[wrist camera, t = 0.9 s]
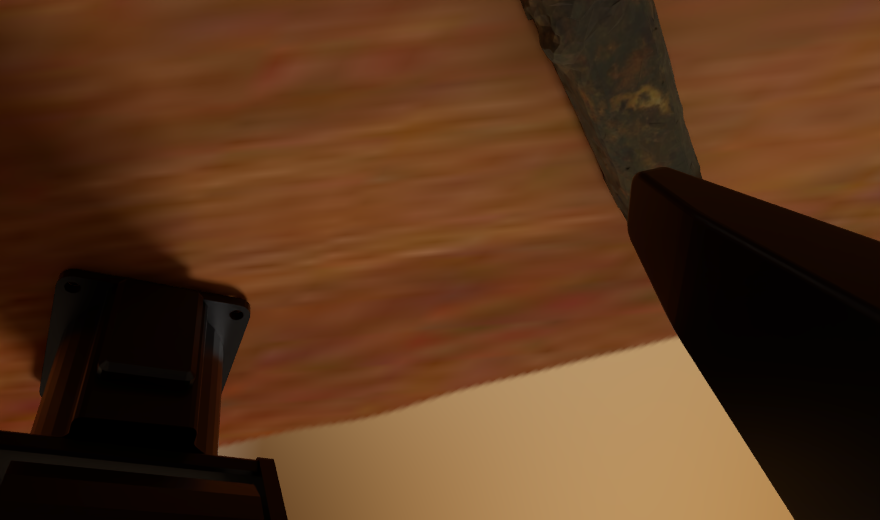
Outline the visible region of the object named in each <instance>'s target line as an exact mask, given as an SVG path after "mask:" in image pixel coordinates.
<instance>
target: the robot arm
mask: <svg viewBox="0 0 880 520" xmlns="http://www.w3.org/2000/svg"><path fill="white" fill-rule="evenodd" d="M627 226H628V233H629V237H630V240H631V242H632V244H633V246H634V248H635V250H636V252H637V254H638V257H639V259H640V261H641V263H642V265H643V267H644V269H645V271H646V273H647V275H648V277H649V280H650V282H651V284H652V286H653V288H654V290H655V292H656V294H657V296H658V298H659V300H660V302H661V305H662V307H663V309H664V311H665V313H666V315H667V317H668V319H669V321H670V323H671V325H672V327H673V328H674V330H675V332H676V333H677V335H678V337H679V338H680V340H681V342H682V343H683V345H684V347H685V348H686V350H687V351H688V353H689V354H690V356H691V357H692V359H693V361H694V362H695V364H696V365H697V367H698V369H699V370H700V372H701V373H702V375H703V376H704V378H705V380H706V381H707V383H708V384H709V386H710V387H711V389H712V391H713V392H714V394H715V395H716V397H717V398H718V400H719V402H720V403H721V405H722V406H723V408H724V409H725V411H726V412H727V414H728V416H729V417H730V419H731V421H732V422H733V424H734V425H735V427H736V428H737V430H738V432H739V433H740V435H741V436H742V438H743V439H744V441H745V442H746V444H747V446H748V447H749V449H750V450H751V452H752V453H753V455H754V457H755V458H756V460H757V461H758V463H759V465H760V466H761V468H762V469H763V471H764V472H765V474H766V476H767V477H768V479H769V480H770V482H771V483H772V485H773V487H774V488H775V490H776V491H777V493H778V494H779V496H780V498H781V499H782V501H783V502H784V504H785V505H786V507H787V509H788V510H789V512H790V513H791V515H792V516H793V518H794V520H880V241H877V240H875V239H872V238H869V237H866V236H863V235H860V234H857V233H855V232H852V231H849V230H846V229H843V228H840V227H837V226H834V225H832V224H829V223H826V222H823V221H820V220H817V219H814V218H812V217H809V216H806V215H803V214H800V213H797V212H794V211H792V210H789V209H786V208H783V207H780V206H777V205H774V204H772V203H769V202H766V201H763V200H760V199H757V198H754V197H752V196H749V195H746V194H743V193H740V192H737V191H734V190H732V189H729V188H726V187H723V186H720V185H717V184H714V183H712V182H709V181H706V180H703V179H700V178H697V177H694V176H692V175H689V174H686V173H683V172H680V171H677V170H674V169H672V168H669V167H658V168H654V169H649V170H645V171H640V172H638V173H637V174H635V176H634V177H633V179H632V183H631V191H630V201H629V211H628V221H627ZM68 282H75V283H78V284H79V286H74V285H71V284H69V283H68ZM234 310H239V311H242V312H239V313H234V312H232V311H234ZM249 318H250V305H249V303H248V302H247V301H246V300H243V299H240V298H235V297H230V296H224V295H218V294H213V293H207V292H202V291H196V290H191V289H185V288H179V287H174V286H168V285H163V284H157V283H151V282H146V281H140V280H135V279H129V278H124V277H118V276H112V275H107V274H101V273H96V272H90V271H85V270H79V269H68V270H65V271H63V272H62V273H61V274H60V276H59V278H58V281H57V283H56V288H55V294H54V301H53V307H52V314H51V320H50V327H49V333H48V339H47V346H46V352H45V359H44V365H43V372H42V378H41V384H40V391H39V392H40V395H41V397H42V399H41V402H40V405H39V408H38V411H37V414H36V417H35V421H34V424H33V427H32V430H31V433H30V434H28V433H20V432H11V431H2V430H0V520H288V519H287V515H286V510H285V506H284V502H283V497H282V493H281V488H280V484H279V480H278V476H277V471H276V467H275V463H274V459H268V458H260V457H257V459H256V460H252V459H244V458H235V457H227V456H218V442H219V424H220V406H221V394H222V391H223V388H224V385H225V383H226V380H227V377H228V375H229V372H230V369H231V367H232V364H233V361H234V359H235V356H236V353H237V351H238V348H239V345H240V343H241V340H242V337H243V334H244V332H245V329H246V326H247V324H248V321H249Z"/></svg>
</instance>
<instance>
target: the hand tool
mask: <svg viewBox="0 0 880 520" xmlns="http://www.w3.org/2000/svg"><path fill="white" fill-rule="evenodd" d="M521 3H522V6H523V9H524V11H525V14H526V16H527V18H528V20H531V19H533V20H534V22H535V24H536V26H537V28H538V31H539V39H540V45H541V47H542V49H543V51H544V52H545V54H546V55H547V57H548V58H549V59H550V60H551V61H552V62H553V64H554V66H555V68H556V71H557V73H558V75H559V77H560V79H561V82H562V84H563V86H564V88H565V90H566V93H567V95H568V97H569V99H570V101H571V103H572V105H573V107H574V110H575V112H576V114H577V116H578V118H579V120H580V122H581V125H582V127H583V130H584V133H585V135H586V137H587V139H588V141H589V143H590V146H591V148H592V150H593V152H594V154H595V156H596V158H597V161H598V163H599V165H600V167H601V169H602V171H603V173H604V175H605V176H604V180H605V182H606V184H607V186H608V188H609V190H610V192H611V194H612V196H613V198H614V200H615V202H616V204H617V206H618V207H619V208H620V210H621V211H622V213H623V215H624V217H625V219H626V220H627V221H628V211H629V201H630V191H631V183H632V179H633V177H634V176H635V174H637V173H638V172H640V171H645V170H649V169H654V168H658V167H669V168H672V169H674V170H677V171H680V172H683V173H686V174H689V175H692V176H694V177H697V178H700V179H702V176H701V173H700V166H699V163H698V160H697V157H696V155H695V152H694V149H693V146H692V143H691V140H690V137H689V133H688V130H687V128H686V126H685V122H684V118H683V107H682V105H681V102H680V99H679V95H678V92H677V88H676V85H675V80H674V75H673V71H672V67H671V63H670V59H669V55H668V52H667V48H666V45H665V41H664V37H663V34H662V30H661V27H660V23H659V19H658V15H657V12H656V8H655V4H654V1H653V0H521Z"/></svg>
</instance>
